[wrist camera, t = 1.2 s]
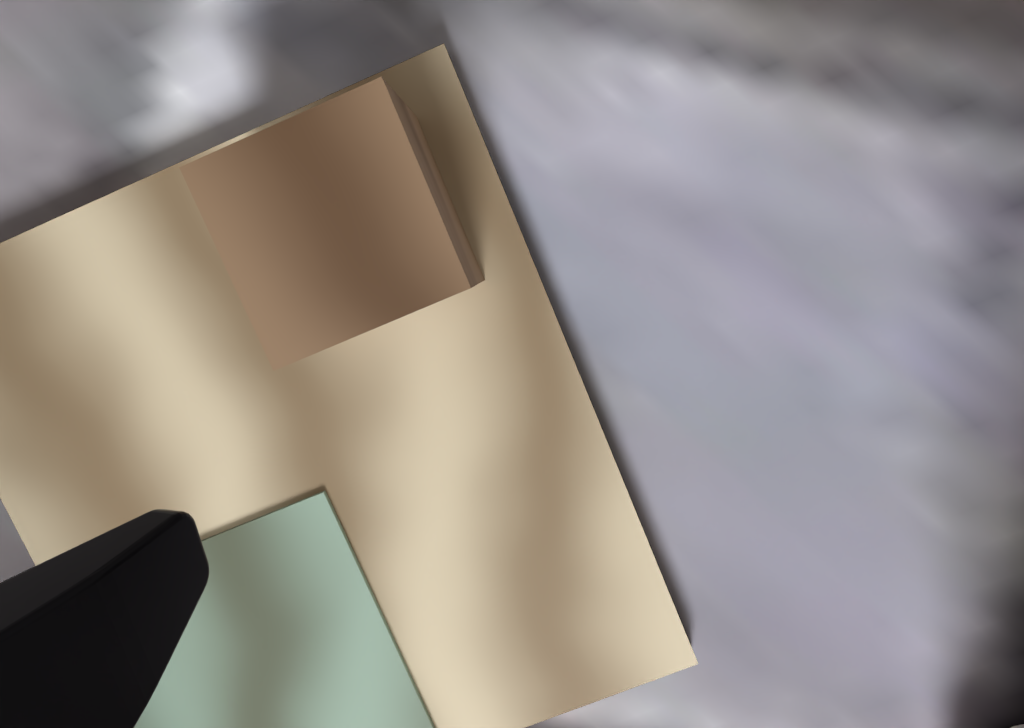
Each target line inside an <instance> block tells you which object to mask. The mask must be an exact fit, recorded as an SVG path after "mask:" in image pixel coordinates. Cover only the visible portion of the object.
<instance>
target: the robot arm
mask: <svg viewBox="0 0 1024 728" xmlns="http://www.w3.org/2000/svg"><path fill="white" fill-rule="evenodd" d="M208 578H209V563H208V559H207V556H206V553H205V550H204V547H203V544H202V541H201V538H200V535H199V532H198V529H197V526H196V523H195V521H194V519H193V517H192V516H191V515H190V514H189V513H186V512H184V511H176V510H167V509H155V510H151V511H149V512H147V513H145V514H143V515H141V516H139V517H136V518H134V519H132V520H130V521H128V522H126V523H124V524H122V525H120V526H118V527H116V528H114V529H111V530H109V531H107V532H105V533H103V534H101V535H99V536H97V537H95V538H93V539H91V540H89V541H86V542H84V543H82V544H80V545H78V546H76V547H74V548H72V549H70V550H68V551H66V552H64V553H61V554H59V555H57V556H55V557H53V558H51V559H49V560H47V561H45V562H43V563H41V564H39V565H36V566H34V567H32V568H30V569H28V570H26V571H24V572H22V573H20V574H18V575H16V576H14V577H11V578H9V579H7V580H5V581H3V582H1V583H0V728H134V727H135V725H136V723H137V722H138V720H139V718H140V716H141V715H142V713H143V711H144V710H145V708H146V706H147V704H148V702H149V701H150V699H151V697H152V695H153V693H154V691H155V689H156V687H157V685H158V683H159V681H160V679H161V677H162V675H163V673H164V671H165V669H166V667H167V665H168V663H169V661H170V659H171V657H172V655H173V653H174V651H175V649H176V647H177V645H178V643H179V640H180V638H181V636H182V634H183V632H184V630H185V628H186V626H187V624H188V622H189V620H190V618H191V616H192V614H193V612H194V610H195V608H196V606H197V604H198V602H199V600H200V598H201V596H202V594H203V592H204V589H205V587H206V585H207V582H208Z"/></svg>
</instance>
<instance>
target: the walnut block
mask: <svg viewBox="0 0 1024 728" xmlns="http://www.w3.org/2000/svg"><path fill="white" fill-rule="evenodd" d="M179 168H180V170H181V173H182V175H183V177H184V179H185V181H186V183H187V186H188V188H189V190H190V192H191V194H192V196H193V199H194V201H195V203H196V205H197V207H198V209H199V211H200V214H201V216H202V218H203V220H204V222H205V224H206V227H207V229H208V231H209V233H210V235H211V237H212V240H213V242H214V244H215V246H216V248H217V250H218V252H219V255H220V257H221V259H222V261H223V263H224V265H225V268H226V270H227V272H228V274H229V276H230V278H231V281H232V283H233V285H234V287H235V289H236V291H237V294H238V296H239V298H240V300H241V302H242V304H243V306H244V309H245V311H246V313H247V315H248V317H249V319H250V322H251V324H252V326H253V328H254V330H255V332H256V335H257V337H258V339H259V341H260V343H261V345H262V347H263V350H264V352H265V354H266V356H267V358H268V360H269V363H270V365H271V367H272V369H273V371H275V370H277V369H280V368H282V367H284V366H287V365H289V364H292V363H294V362H296V361H299V360H301V359H303V358H306V357H308V356H311V355H313V354H315V353H318V352H320V351H322V350H325V349H327V348H330V347H332V346H334V345H337V344H339V343H342V342H344V341H346V340H349V339H351V338H353V337H356V336H358V335H361V334H363V333H365V332H368V331H370V330H372V329H375V328H377V327H380V326H382V325H384V324H387V323H389V322H392V321H394V320H396V319H399V318H401V317H403V316H406V315H408V314H411V313H413V312H415V311H418V310H420V309H422V308H425V307H427V306H430V305H432V304H434V303H437V302H439V301H442V300H444V299H446V298H449V297H451V296H453V295H456V294H458V293H461V292H463V291H465V290H468V289H470V288H472V287H474V286H476V285H477V284H479V283H481V282H483V281H484V280H485V279H484V276H483V274H482V272H481V269H480V267H479V264H478V262H477V260H476V257H475V255H474V253H473V250H472V248H471V245H470V243H469V241H468V238H467V236H466V233H465V231H464V229H463V226H462V224H461V222H460V219H459V217H458V214H457V212H456V210H455V207H454V205H453V202H452V200H451V198H450V195H449V193H448V191H447V188H446V186H445V183H444V181H443V179H442V176H441V174H440V172H439V169H438V167H437V164H436V162H435V160H434V157H433V155H432V152H431V150H430V148H429V145H428V143H427V141H426V138H425V136H424V133H423V131H422V129H421V126H420V124H419V121H418V119H417V117H416V115H415V114H414V113H413V112H412V111H411V110H410V109H409V107H408V106H407V105H406V104H405V103H404V102H403V100H402V99H401V98H400V97H399V96H398V95H397V94H396V92H395V91H394V90H393V89H392V88H391V87H390V86H389V84H388V83H387V82H386V81H385V80H384V79H383V77H382V76H381V77H379V78H377V79H375V80H373V81H370V82H368V83H366V84H364V85H361V86H359V87H357V88H355V89H353V90H350V91H348V92H346V93H344V94H341V95H339V96H337V97H335V98H333V99H330V100H328V101H326V102H324V103H321V104H319V105H317V106H315V107H313V108H310V109H308V110H306V111H304V112H301V113H299V114H297V115H295V116H292V117H290V118H288V119H286V120H284V121H281V122H279V123H277V124H275V125H272V126H270V127H268V128H266V129H264V130H261V131H259V132H257V133H255V134H252V135H250V136H248V137H246V138H244V139H241V140H239V141H237V142H235V143H232V144H230V145H228V146H226V147H223V148H221V149H219V150H217V151H215V152H212V153H210V154H208V155H206V156H203V157H201V158H199V159H197V160H195V161H192V162H190V163H188V164H186V165H183V166H181V167H179Z"/></svg>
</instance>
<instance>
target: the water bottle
mask: <svg viewBox="0 0 1024 728" xmlns="http://www.w3.org/2000/svg"><path fill="white" fill-rule="evenodd" d="M1011 728H1024V724H1022V725H1017V726H1012V727H1011Z"/></svg>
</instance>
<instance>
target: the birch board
mask: <svg viewBox="0 0 1024 728" xmlns="http://www.w3.org/2000/svg"><path fill="white" fill-rule="evenodd" d="M381 76H382V77H383V79H384V80H385V81H386V82H387V83H388V84H389V86H390V87H391V88H392V89H393V90H394V91H395V92H396V94H397V95H398V96H399V97H400V98H401V99H402V100H403V102H404V103H405V104H406V105H407V106H408V107H409V109H410V110H411V111H412V112H413V113H414V114H415V115H416V117H417V119H418V121H419V124H420V126H421V129H422V131H423V133H424V136H425V138H426V141H427V143H428V145H429V148H430V150H431V152H432V155H433V157H434V160H435V162H436V164H437V167H438V169H439V172H440V174H441V176H442V179H443V181H444V183H445V186H446V188H447V191H448V193H449V195H450V198H451V200H452V202H453V205H454V207H455V210H456V212H457V214H458V217H459V219H460V222H461V224H462V226H463V229H464V231H465V233H466V236H467V238H468V241H469V243H470V245H471V248H472V250H473V253H474V255H475V257H476V260H477V262H478V264H479V267H480V269H481V272H482V274H483V276H484V279H485V280H484V281H483V282H481V283H479V284H477V285H476V286H474V287H472V288H470V289H468V290H465V291H463V292H461V293H458V294H456V295H453V296H451V297H449V298H446V299H444V300H442V301H439V302H437V303H434V304H432V305H430V306H427V307H425V308H422V309H420V310H418V311H415V312H413V313H411V314H408V315H406V316H403V317H401V318H399V319H396V320H394V321H392V322H389V323H387V324H384V325H382V326H380V327H377V328H375V329H372V330H370V331H368V332H365V333H363V334H361V335H358V336H356V337H353V338H351V339H349V340H346V341H344V342H342V343H339V344H337V345H334V346H332V347H330V348H327V349H325V350H322V351H320V352H318V353H315V354H313V355H311V356H308V357H306V358H303V359H301V360H299V361H296V362H294V363H292V364H289V365H287V366H284V367H282V368H280V369H277V370H275V371H273V369H272V367H271V365H270V363H269V360H268V358H267V356H266V354H265V352H264V350H263V347H262V345H261V343H260V341H259V339H258V337H257V335H256V332H255V330H254V328H253V326H252V324H251V322H250V319H249V317H248V315H247V313H246V311H245V309H244V306H243V304H242V302H241V300H240V298H239V296H238V294H237V291H236V289H235V287H234V285H233V283H232V281H231V278H230V276H229V274H228V272H227V270H226V268H225V265H224V263H223V261H222V259H221V257H220V255H219V252H218V250H217V248H216V246H215V244H214V242H213V240H212V237H211V235H210V233H209V231H208V229H207V227H206V224H205V222H204V220H203V218H202V216H201V214H200V211H199V209H198V207H197V205H196V203H195V201H194V199H193V196H192V194H191V192H190V190H189V188H188V186H187V183H186V181H185V179H184V177H183V175H182V173H181V170H180V168H179V167H181V166H183V165H186V164H188V163H190V162H192V161H195V160H197V159H199V158H201V157H203V156H206V155H208V154H210V153H212V152H215V151H217V150H219V149H221V148H223V147H226V146H228V145H230V144H232V143H235V142H237V141H239V140H241V139H244V138H246V137H248V136H250V135H252V134H255V133H257V132H259V131H261V130H264V129H266V128H268V127H270V126H272V125H275V124H277V123H279V122H281V121H284V120H286V119H288V118H290V117H292V116H295V115H297V114H299V113H301V112H304V111H306V110H308V109H310V108H313V107H315V106H317V105H319V104H321V103H324V102H326V101H328V100H330V99H333V98H335V97H337V96H339V95H341V94H344V93H346V92H348V91H350V90H353V89H355V88H357V87H359V86H361V85H364V84H366V83H368V82H370V81H373V80H375V79H377V78H379V77H381ZM0 499H1V500H2V502H3V504H4V506H5V508H6V510H7V512H8V514H9V516H10V518H11V520H12V521H13V523H14V525H15V527H16V529H17V531H18V533H19V535H20V537H21V539H22V541H23V543H24V544H25V546H26V548H27V550H28V552H29V554H30V556H31V558H32V560H33V562H34V564H35V566H36V565H39V564H41V563H43V562H45V561H47V560H49V559H51V558H53V557H55V556H57V555H59V554H61V553H64V552H66V551H68V550H70V549H72V548H74V547H76V546H78V545H80V544H82V543H84V542H86V541H89V540H91V539H93V538H95V537H97V536H99V535H101V534H103V533H105V532H107V531H109V530H111V529H114V528H116V527H118V526H120V525H122V524H124V523H126V522H128V521H130V520H132V519H134V518H136V517H139V516H141V515H143V514H145V513H147V512H149V511H151V510H155V509H167V510H176V511H184V512H186V513H189V514H190V515H191V516H192V517H193V519H194V521H195V523H196V526H197V529H198V532H199V535H200V538H201V541H202V544H203V547H204V550H205V553H206V556H207V559H208V563H209V578H208V582H207V585H206V587H205V589H204V592H203V594H202V596H201V598H200V600H199V602H198V604H197V606H196V608H195V610H194V612H193V614H192V616H191V618H190V620H189V622H188V624H187V626H186V628H185V630H184V632H183V634H182V636H181V638H180V640H179V643H178V645H177V647H176V649H175V651H174V653H173V655H172V657H171V659H170V661H169V663H168V665H167V667H166V669H165V671H164V673H163V675H162V677H161V679H160V681H159V683H158V685H157V687H156V689H155V691H154V693H153V695H152V697H151V699H150V701H149V702H148V704H147V706H146V708H145V710H144V711H143V713H142V715H141V716H140V718H139V720H138V722H137V723H136V725H135V727H134V728H525V727H528V726H530V725H533V724H536V723H538V722H541V721H544V720H547V719H549V718H552V717H555V716H558V715H560V714H563V713H566V712H569V711H571V710H574V709H577V708H579V707H582V706H585V705H588V704H590V703H593V702H596V701H599V700H601V699H604V698H607V697H609V696H612V695H615V694H618V693H620V692H623V691H626V690H629V689H631V688H634V687H637V686H639V685H642V684H645V683H648V682H650V681H653V680H656V679H659V678H661V677H664V676H667V675H669V674H672V673H675V672H678V671H680V670H683V669H686V668H689V667H691V666H694V665H697V664H698V662H697V659H696V657H695V654H694V652H693V649H692V647H691V644H690V642H689V640H688V637H687V635H686V632H685V630H684V627H683V625H682V623H681V620H680V618H679V615H678V613H677V610H676V608H675V605H674V603H673V601H672V598H671V596H670V593H669V591H668V588H667V586H666V584H665V581H664V579H663V576H662V574H661V571H660V569H659V566H658V564H657V562H656V559H655V557H654V554H653V552H652V549H651V547H650V544H649V542H648V540H647V537H646V535H645V532H644V530H643V527H642V525H641V523H640V520H639V518H638V515H637V513H636V510H635V508H634V505H633V503H632V501H631V498H630V496H629V493H628V491H627V488H626V486H625V484H624V481H623V479H622V476H621V474H620V471H619V469H618V466H617V464H616V462H615V459H614V457H613V454H612V452H611V449H610V447H609V445H608V442H607V440H606V437H605V435H604V432H603V430H602V427H601V425H600V423H599V420H598V418H597V415H596V413H595V410H594V408H593V405H592V403H591V401H590V398H589V396H588V393H587V391H586V388H585V386H584V384H583V381H582V379H581V376H580V374H579V371H578V369H577V366H576V364H575V362H574V359H573V357H572V354H571V352H570V349H569V347H568V345H567V342H566V340H565V337H564V335H563V332H562V330H561V327H560V325H559V323H558V320H557V318H556V315H555V313H554V310H553V308H552V306H551V303H550V301H549V298H548V296H547V293H546V291H545V288H544V286H543V284H542V281H541V279H540V276H539V274H538V271H537V269H536V266H535V264H534V262H533V259H532V257H531V254H530V252H529V249H528V247H527V245H526V242H525V240H524V237H523V235H522V232H521V230H520V227H519V225H518V223H517V220H516V218H515V215H514V213H513V210H512V208H511V206H510V203H509V201H508V198H507V196H506V193H505V191H504V188H503V186H502V184H501V181H500V179H499V176H498V174H497V171H496V169H495V167H494V164H493V162H492V159H491V157H490V154H489V152H488V149H487V147H486V145H485V142H484V140H483V137H482V135H481V132H480V130H479V127H478V125H477V123H476V120H475V118H474V115H473V113H472V110H471V108H470V106H469V103H468V101H467V98H466V96H465V93H464V91H463V88H462V86H461V84H460V81H459V79H458V76H457V74H456V71H455V69H454V67H453V64H452V62H451V59H450V57H449V54H448V52H447V50H446V47H445V45H444V44H442V45H439V46H437V47H435V48H433V49H430V50H428V51H426V52H424V53H422V54H419V55H417V56H415V57H413V58H410V59H408V60H406V61H404V62H402V63H399V64H397V65H395V66H393V67H390V68H388V69H386V70H384V71H382V72H379V73H377V74H375V75H373V76H370V77H368V78H366V79H364V80H362V81H359V82H357V83H355V84H353V85H350V86H348V87H346V88H344V89H342V90H339V91H337V92H335V93H333V94H330V95H328V96H326V97H324V98H322V99H319V100H317V101H315V102H313V103H310V104H308V105H306V106H304V107H302V108H299V109H297V110H295V111H293V112H290V113H288V114H286V115H284V116H282V117H279V118H277V119H275V120H273V121H270V122H268V123H266V124H264V125H262V126H259V127H257V128H255V129H253V130H250V131H248V132H246V133H244V134H242V135H239V136H237V137H235V138H233V139H230V140H228V141H226V142H224V143H222V144H219V145H217V146H215V147H213V148H210V149H208V150H206V151H204V152H202V153H199V154H197V155H195V156H193V157H190V158H188V159H186V160H184V161H182V162H179V163H177V164H175V165H173V166H170V167H168V168H166V169H164V170H162V171H159V172H157V173H155V174H153V175H150V176H148V177H146V178H144V179H142V180H139V181H137V182H135V183H133V184H130V185H128V186H126V187H124V188H122V189H119V190H117V191H115V192H113V193H110V194H108V195H106V196H104V197H102V198H99V199H97V200H95V201H93V202H90V203H88V204H86V205H84V206H82V207H79V208H77V209H75V210H73V211H70V212H68V213H66V214H64V215H62V216H59V217H57V218H55V219H53V220H50V221H48V222H46V223H44V224H42V225H39V226H37V227H35V228H33V229H30V230H28V231H26V232H24V233H22V234H19V235H17V236H15V237H13V238H10V239H8V240H6V241H4V242H2V243H0Z"/></svg>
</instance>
